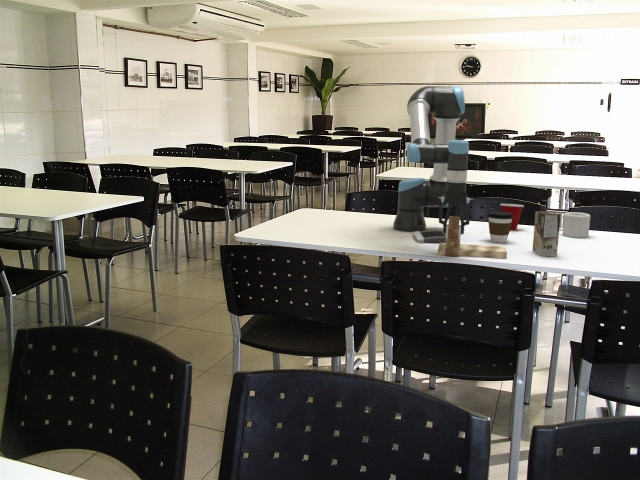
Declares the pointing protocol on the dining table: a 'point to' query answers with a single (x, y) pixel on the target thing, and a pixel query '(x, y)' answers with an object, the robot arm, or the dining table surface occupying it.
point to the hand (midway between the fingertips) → (452, 241)
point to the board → (477, 250)
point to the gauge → (453, 237)
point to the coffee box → (546, 233)
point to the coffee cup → (499, 225)
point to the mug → (576, 225)
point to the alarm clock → (429, 236)
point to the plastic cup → (515, 211)
